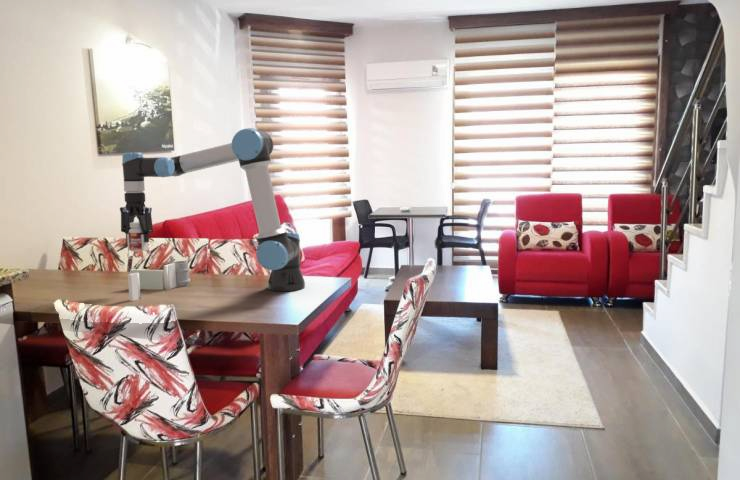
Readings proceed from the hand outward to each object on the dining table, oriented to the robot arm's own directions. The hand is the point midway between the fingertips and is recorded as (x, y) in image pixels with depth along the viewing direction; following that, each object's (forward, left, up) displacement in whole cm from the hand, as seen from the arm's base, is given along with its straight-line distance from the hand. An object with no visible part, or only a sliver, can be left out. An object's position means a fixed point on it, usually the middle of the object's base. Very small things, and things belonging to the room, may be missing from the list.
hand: (138, 250), depth 229 cm
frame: (-7, 0, -17) cm, 19 cm away
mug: (-5, -17, -17) cm, 25 cm away
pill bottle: (0, 0, -1) cm, 1 cm away
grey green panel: (+1, -5, -17) cm, 18 cm away
